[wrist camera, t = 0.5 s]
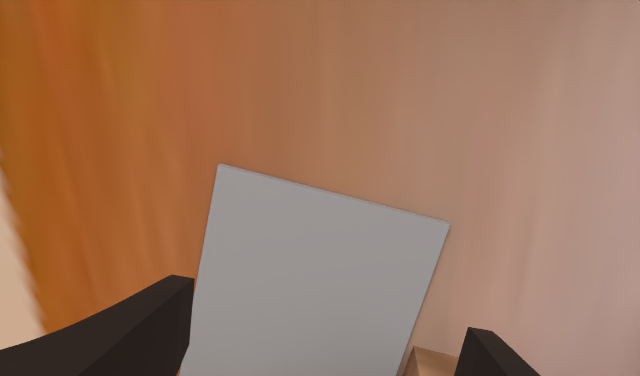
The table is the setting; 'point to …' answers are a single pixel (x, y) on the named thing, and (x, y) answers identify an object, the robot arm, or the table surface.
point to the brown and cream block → (430, 363)
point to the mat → (306, 281)
